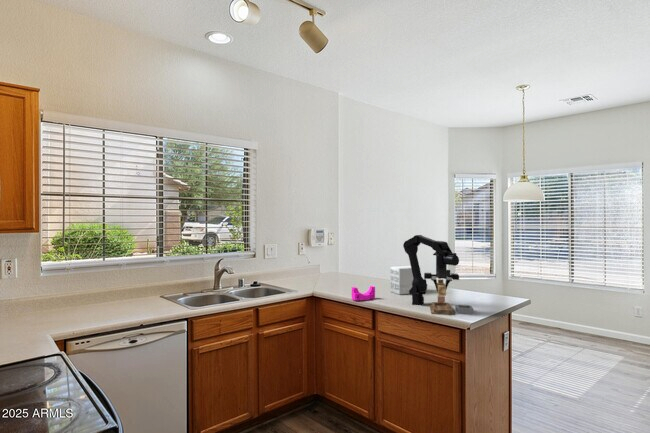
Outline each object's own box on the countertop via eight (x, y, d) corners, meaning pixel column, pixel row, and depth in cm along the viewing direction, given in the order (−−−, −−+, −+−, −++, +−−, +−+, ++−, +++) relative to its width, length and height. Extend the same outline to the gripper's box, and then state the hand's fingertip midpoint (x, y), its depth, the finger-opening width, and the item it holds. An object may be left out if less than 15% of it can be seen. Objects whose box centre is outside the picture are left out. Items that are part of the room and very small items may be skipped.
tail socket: (457, 313, 212) (457, 307, 212) (455, 309, 221) (455, 304, 221) (473, 314, 211) (473, 308, 211) (471, 310, 219) (471, 305, 219)
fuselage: (438, 295, 215) (438, 282, 215) (437, 291, 226) (437, 279, 226) (445, 295, 214) (445, 282, 214) (444, 291, 225) (444, 279, 226)
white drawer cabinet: (410, 290, 284) (410, 265, 284) (421, 293, 271) (420, 267, 271) (389, 291, 278) (389, 266, 278) (399, 294, 265) (399, 268, 265)
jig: (431, 313, 212) (431, 309, 212) (429, 305, 231) (429, 301, 231) (454, 314, 209) (454, 310, 209) (450, 306, 229) (450, 302, 229)
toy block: (355, 300, 248) (355, 288, 248) (351, 298, 254) (351, 287, 254) (376, 299, 252) (376, 287, 252) (372, 297, 258) (372, 286, 258)
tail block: (437, 304, 235) (437, 296, 235) (437, 303, 238) (437, 295, 239) (444, 305, 234) (444, 296, 234) (444, 303, 238) (444, 295, 238)
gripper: (424, 265, 215) (424, 293, 215) (460, 266, 211) (460, 294, 210) (424, 262, 225) (424, 289, 225) (458, 263, 221) (458, 291, 221)
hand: (441, 291), depth 220 cm, fingers closed on fuselage, 4 cm apart
